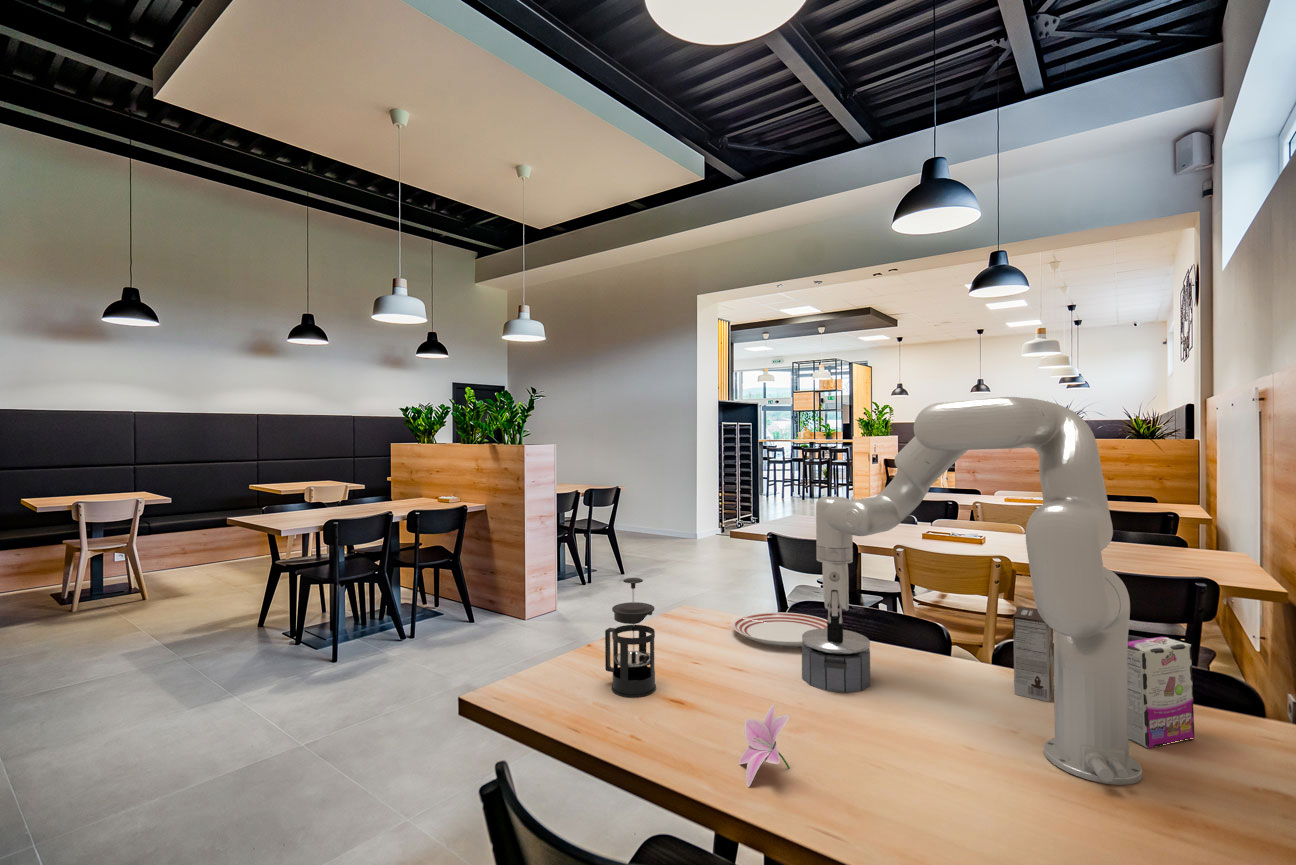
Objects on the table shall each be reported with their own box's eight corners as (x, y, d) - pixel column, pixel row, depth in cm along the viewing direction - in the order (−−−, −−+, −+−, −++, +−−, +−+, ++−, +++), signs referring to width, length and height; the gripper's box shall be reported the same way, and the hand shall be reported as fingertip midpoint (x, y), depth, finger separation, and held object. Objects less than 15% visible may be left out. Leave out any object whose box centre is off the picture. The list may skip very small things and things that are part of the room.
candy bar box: (1163, 727, 108) (1162, 635, 108) (1195, 740, 103) (1194, 644, 103) (1116, 735, 105) (1115, 641, 105) (1147, 749, 100) (1145, 650, 100)
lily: (750, 750, 103) (724, 706, 101) (815, 734, 99) (789, 688, 97) (744, 812, 92) (716, 764, 90) (817, 797, 88) (789, 746, 86)
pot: (872, 698, 120) (871, 663, 121) (800, 690, 125) (799, 656, 125) (868, 668, 136) (867, 637, 136) (804, 662, 141) (804, 632, 141)
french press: (666, 684, 128) (665, 576, 129) (647, 701, 120) (646, 586, 120) (617, 675, 133) (616, 571, 134) (596, 691, 125) (595, 580, 125)
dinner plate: (713, 629, 166) (713, 617, 166) (792, 616, 177) (792, 605, 178) (774, 662, 141) (774, 648, 141) (862, 644, 153) (862, 631, 153)
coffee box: (1018, 680, 129) (1017, 605, 129) (1054, 687, 125) (1053, 610, 125) (1013, 695, 122) (1012, 615, 122) (1051, 703, 118) (1050, 621, 118)
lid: (871, 661, 122) (871, 630, 122) (800, 654, 126) (800, 625, 126) (867, 639, 135) (867, 611, 135) (803, 634, 139) (803, 607, 139)
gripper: (853, 562, 122) (854, 653, 122) (851, 548, 138) (852, 628, 137) (815, 560, 124) (815, 649, 124) (817, 546, 140) (818, 625, 140)
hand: (835, 637), depth 131 cm, fingers closed on lid, 3 cm apart
